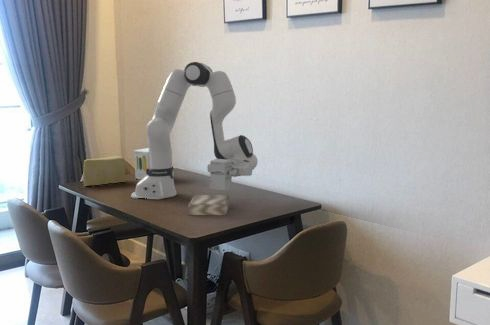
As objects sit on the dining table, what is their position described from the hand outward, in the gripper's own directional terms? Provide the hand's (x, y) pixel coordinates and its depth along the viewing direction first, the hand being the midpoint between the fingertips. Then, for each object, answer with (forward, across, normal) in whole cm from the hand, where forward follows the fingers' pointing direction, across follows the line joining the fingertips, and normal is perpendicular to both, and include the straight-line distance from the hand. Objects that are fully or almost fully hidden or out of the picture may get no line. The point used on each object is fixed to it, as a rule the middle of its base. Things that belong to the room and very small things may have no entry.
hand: (220, 172), depth 223 cm
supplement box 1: (-40, -72, +17) cm, 84 cm away
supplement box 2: (-1, 0, +8) cm, 8 cm away
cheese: (-18, -87, +18) cm, 91 cm away
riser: (+4, -4, +17) cm, 17 cm away
